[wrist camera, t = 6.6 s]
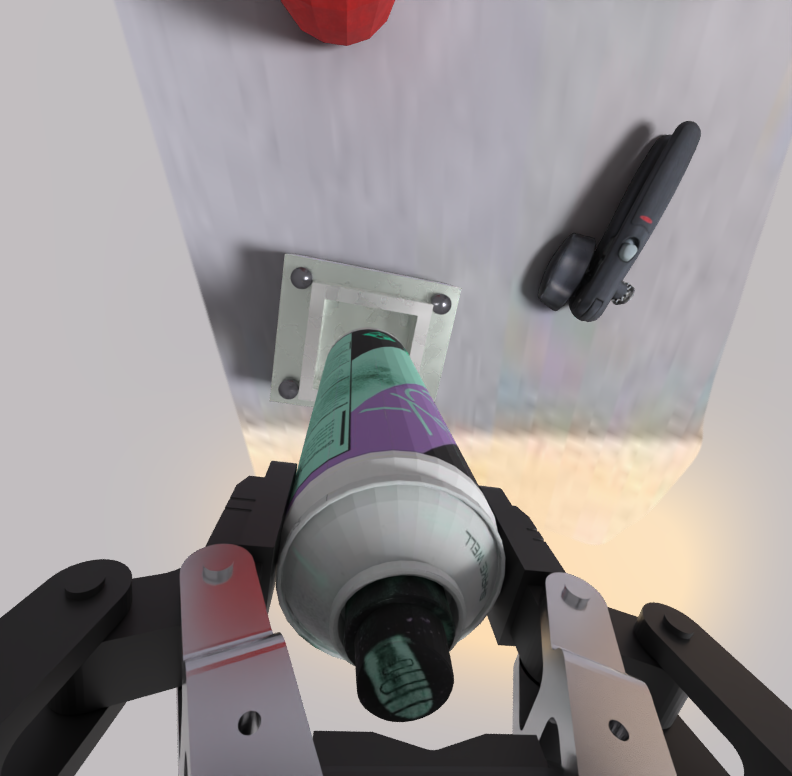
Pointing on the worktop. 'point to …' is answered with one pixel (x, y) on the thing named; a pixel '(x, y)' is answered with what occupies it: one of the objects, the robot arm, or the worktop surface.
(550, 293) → the can opener
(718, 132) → the worktop surface
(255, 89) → the worktop surface
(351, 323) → the grey square holder
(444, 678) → the spray can
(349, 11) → the apple
